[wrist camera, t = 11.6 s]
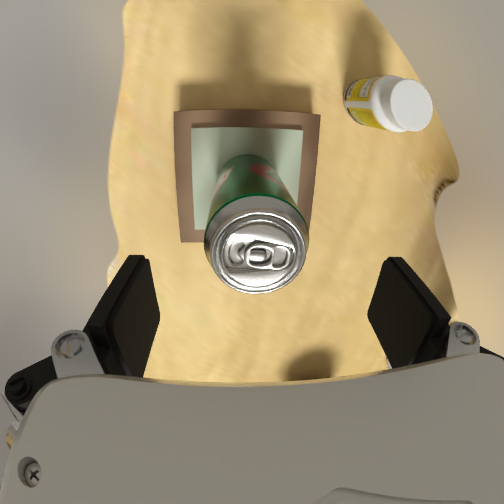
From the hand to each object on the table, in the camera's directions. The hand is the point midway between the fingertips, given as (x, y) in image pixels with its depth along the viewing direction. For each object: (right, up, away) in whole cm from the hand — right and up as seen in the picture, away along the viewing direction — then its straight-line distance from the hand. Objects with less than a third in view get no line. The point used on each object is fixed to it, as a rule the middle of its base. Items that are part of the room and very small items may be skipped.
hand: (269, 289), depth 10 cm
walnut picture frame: (-1, +9, +15) cm, 17 cm away
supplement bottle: (+10, +16, +12) cm, 22 cm away
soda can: (-1, +7, +12) cm, 14 cm away
